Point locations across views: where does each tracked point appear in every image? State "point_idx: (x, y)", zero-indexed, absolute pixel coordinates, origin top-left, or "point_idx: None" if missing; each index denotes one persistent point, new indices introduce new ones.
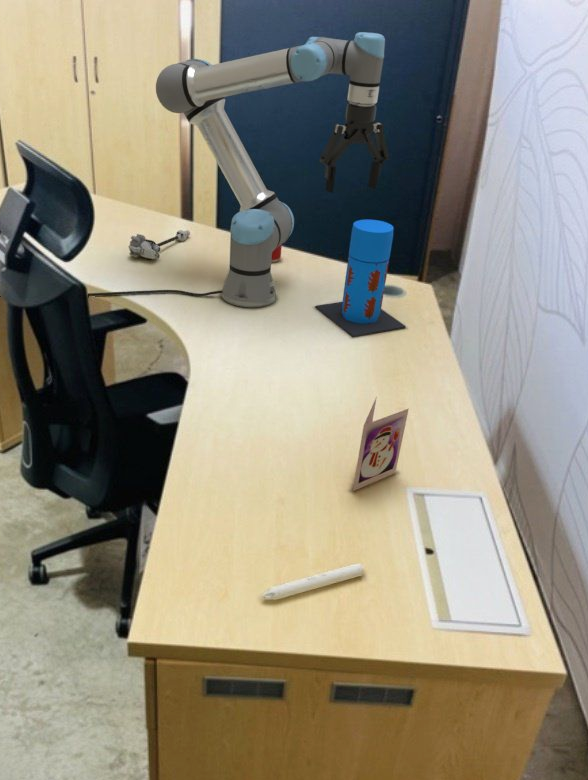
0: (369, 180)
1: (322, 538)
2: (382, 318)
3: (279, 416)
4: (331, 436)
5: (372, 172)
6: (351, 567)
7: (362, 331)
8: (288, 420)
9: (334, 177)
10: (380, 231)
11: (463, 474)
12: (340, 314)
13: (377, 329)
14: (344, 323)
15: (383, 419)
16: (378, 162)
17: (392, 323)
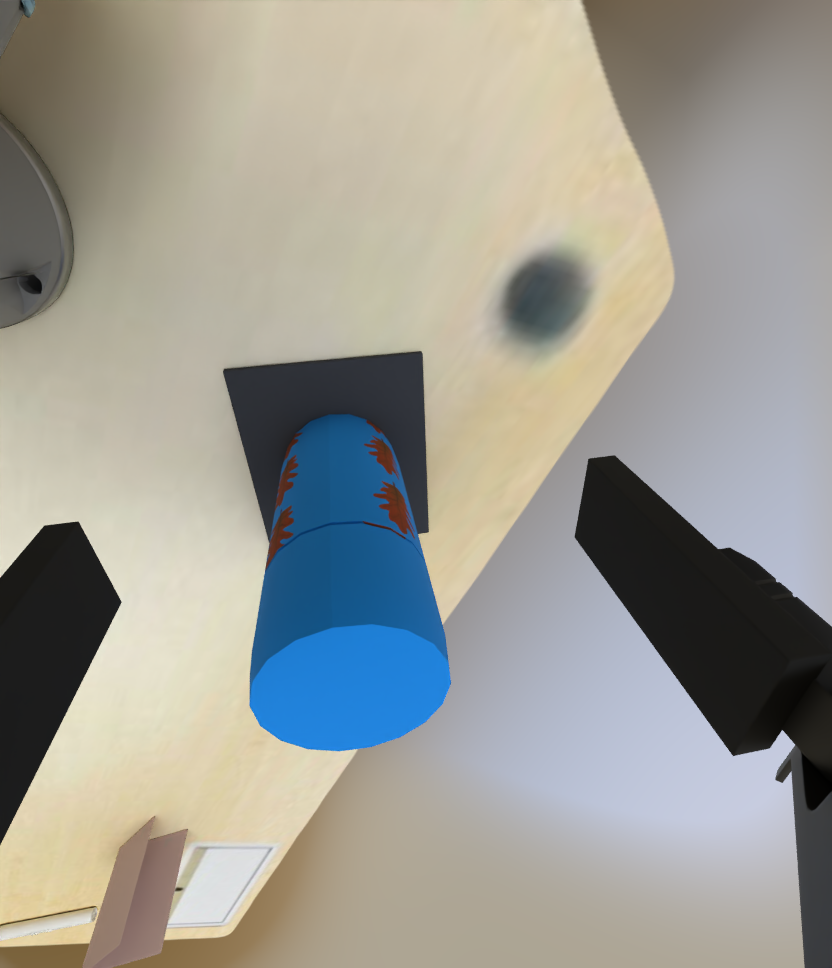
0: (618, 498)
1: (65, 887)
2: None
3: None
4: (116, 785)
5: (667, 594)
6: (80, 924)
7: None
8: (46, 760)
9: (43, 747)
10: (350, 741)
11: (273, 827)
12: (284, 446)
13: None
14: (274, 496)
15: (116, 962)
16: (797, 738)
17: None
